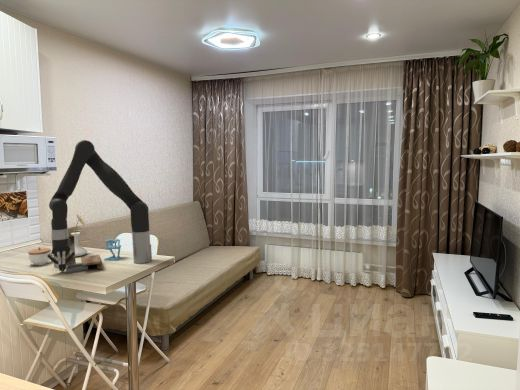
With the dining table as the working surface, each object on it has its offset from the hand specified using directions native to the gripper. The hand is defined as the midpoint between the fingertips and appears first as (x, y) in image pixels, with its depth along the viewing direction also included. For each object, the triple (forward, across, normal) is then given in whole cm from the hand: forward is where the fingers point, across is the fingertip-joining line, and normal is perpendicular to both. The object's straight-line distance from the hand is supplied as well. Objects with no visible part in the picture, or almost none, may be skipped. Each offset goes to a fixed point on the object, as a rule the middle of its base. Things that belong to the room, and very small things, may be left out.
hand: (62, 271), depth 186 cm
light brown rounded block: (0, -14, -1) cm, 14 cm away
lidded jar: (+1, +11, -25) cm, 27 cm away
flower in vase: (+1, -8, -35) cm, 36 cm away
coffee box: (+1, -1, -14) cm, 14 cm away
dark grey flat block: (0, -7, 0) cm, 7 cm away
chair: (0, -26, -14) cm, 30 cm away
